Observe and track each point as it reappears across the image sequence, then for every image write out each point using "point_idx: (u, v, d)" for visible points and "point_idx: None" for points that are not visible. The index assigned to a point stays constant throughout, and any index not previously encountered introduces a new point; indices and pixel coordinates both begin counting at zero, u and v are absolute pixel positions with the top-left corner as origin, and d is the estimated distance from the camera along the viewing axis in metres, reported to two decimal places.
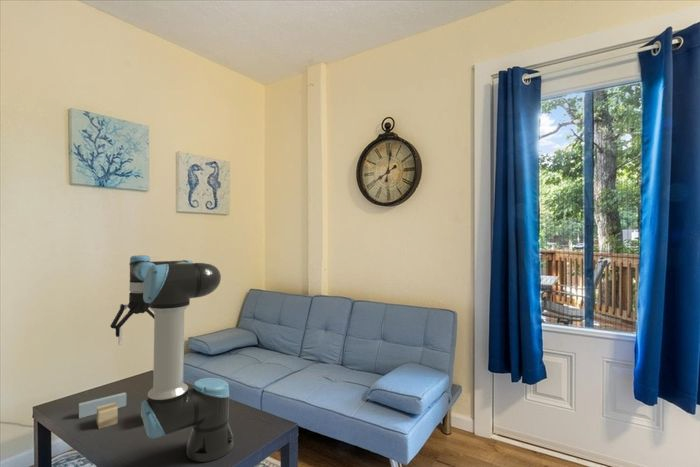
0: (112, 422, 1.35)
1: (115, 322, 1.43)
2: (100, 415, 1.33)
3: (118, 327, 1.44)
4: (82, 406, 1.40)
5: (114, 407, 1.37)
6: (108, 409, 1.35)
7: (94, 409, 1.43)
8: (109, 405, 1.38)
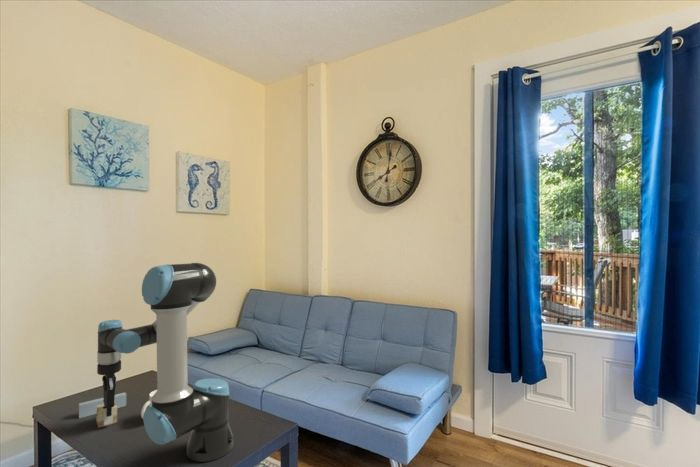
0: None
1: (103, 395, 1.35)
2: (100, 414, 1.33)
3: (104, 403, 1.33)
4: (82, 406, 1.40)
5: None
6: None
7: (94, 409, 1.43)
8: None
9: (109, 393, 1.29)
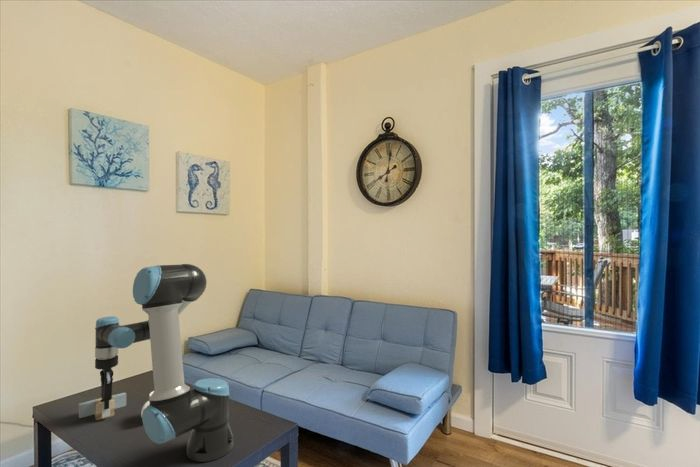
0: None
1: (101, 389, 1.40)
2: (98, 407, 1.39)
3: (102, 397, 1.39)
4: (82, 406, 1.40)
5: (111, 399, 1.43)
6: None
7: (94, 409, 1.43)
8: None
9: (106, 387, 1.35)
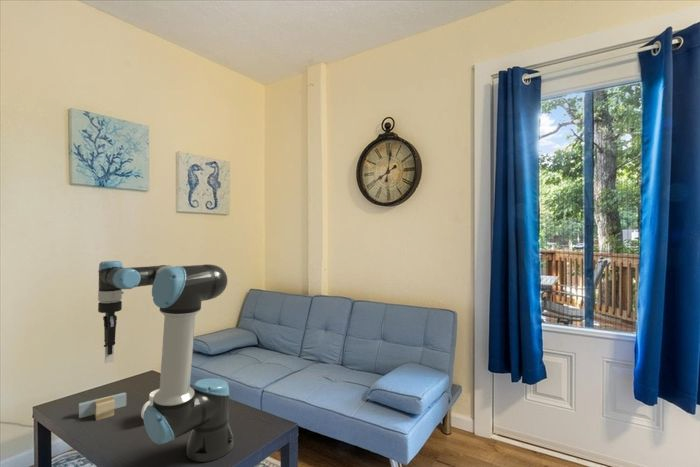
0: (109, 414, 1.41)
1: (104, 335, 1.37)
2: (98, 407, 1.39)
3: (105, 342, 1.35)
4: (82, 406, 1.40)
5: (111, 400, 1.43)
6: (105, 402, 1.41)
7: (94, 409, 1.43)
8: (106, 398, 1.44)
9: (110, 330, 1.31)
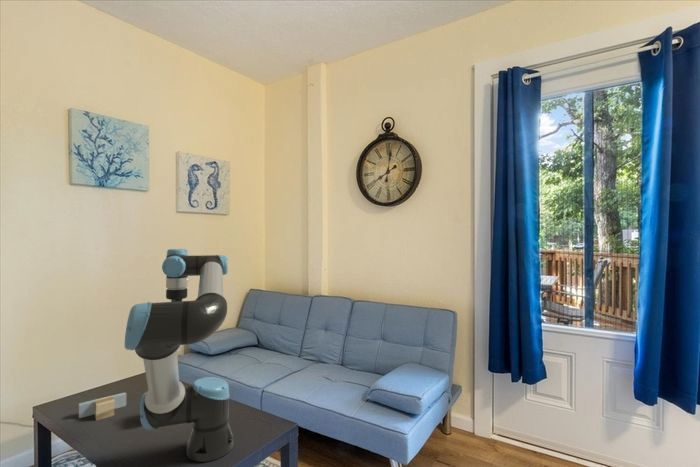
0: (109, 414, 1.41)
1: None
2: (98, 407, 1.39)
3: None
4: (82, 406, 1.40)
5: (111, 400, 1.43)
6: (105, 402, 1.41)
7: (94, 409, 1.43)
8: (106, 398, 1.44)
9: None
